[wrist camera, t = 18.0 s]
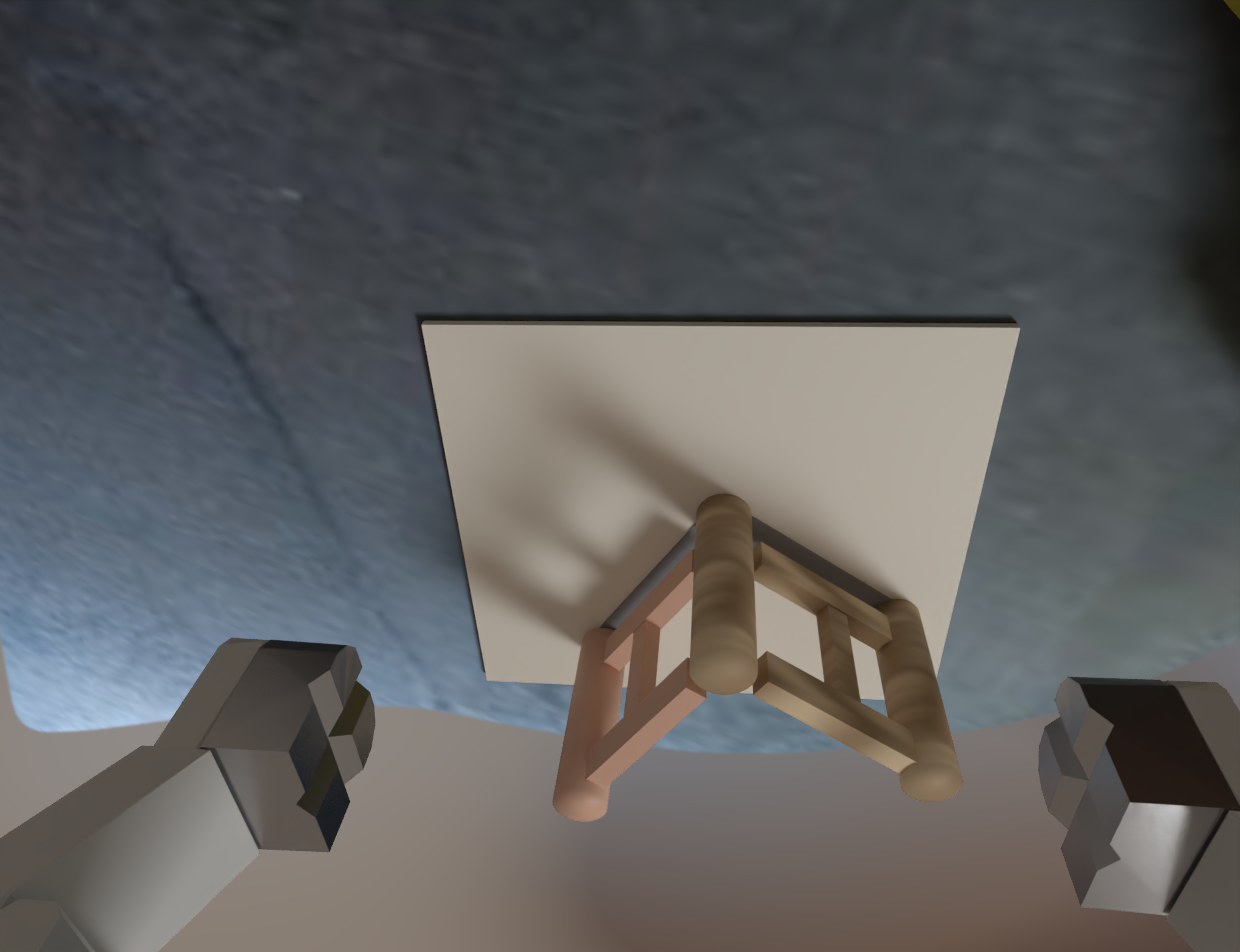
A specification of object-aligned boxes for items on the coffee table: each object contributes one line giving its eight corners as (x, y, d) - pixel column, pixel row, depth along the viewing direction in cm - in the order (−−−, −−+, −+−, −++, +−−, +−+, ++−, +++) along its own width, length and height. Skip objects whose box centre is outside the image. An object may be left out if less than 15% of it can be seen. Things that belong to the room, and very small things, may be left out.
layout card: (488, 675, 61) (486, 681, 61) (424, 320, 46) (420, 325, 46) (929, 696, 58) (930, 703, 58) (1017, 323, 43) (1021, 328, 42)
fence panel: (680, 530, 51) (670, 687, 42) (721, 554, 52) (721, 714, 42) (573, 646, 58) (542, 806, 48) (611, 666, 59) (588, 827, 49)
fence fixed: (685, 520, 51) (675, 674, 42) (717, 484, 50) (716, 637, 40) (894, 642, 55) (931, 810, 45) (931, 612, 54) (977, 780, 44)
